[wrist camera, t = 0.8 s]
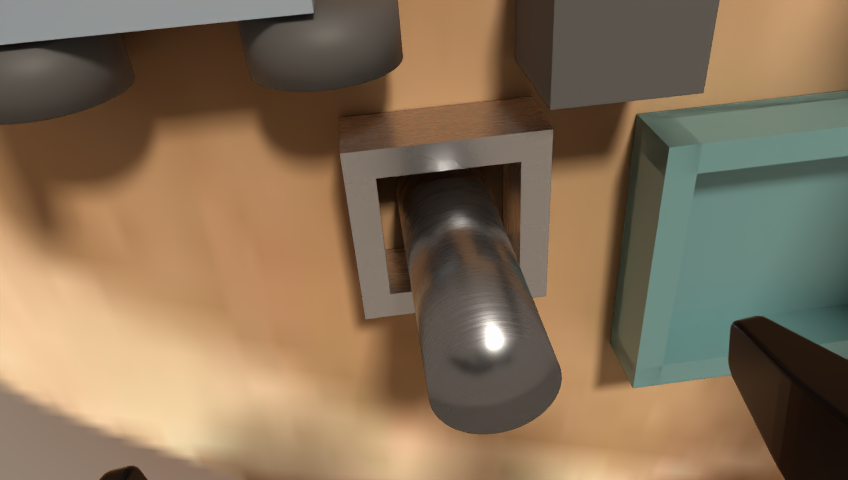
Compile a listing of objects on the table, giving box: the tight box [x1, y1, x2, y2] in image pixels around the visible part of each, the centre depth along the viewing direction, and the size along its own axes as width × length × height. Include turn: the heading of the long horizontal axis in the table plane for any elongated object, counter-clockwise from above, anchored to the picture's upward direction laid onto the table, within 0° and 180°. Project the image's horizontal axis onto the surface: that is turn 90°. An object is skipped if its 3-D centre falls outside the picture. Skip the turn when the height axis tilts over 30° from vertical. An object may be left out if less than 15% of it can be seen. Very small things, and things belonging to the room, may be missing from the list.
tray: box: [610, 90, 848, 388], centre depth 24 cm, size 11×10×2 cm
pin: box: [396, 167, 562, 434], centre depth 19 cm, size 3×3×9 cm
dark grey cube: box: [515, 0, 719, 110], centre depth 17 cm, size 4×4×4 cm
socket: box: [339, 96, 553, 319], centre depth 21 cm, size 6×6×2 cm
